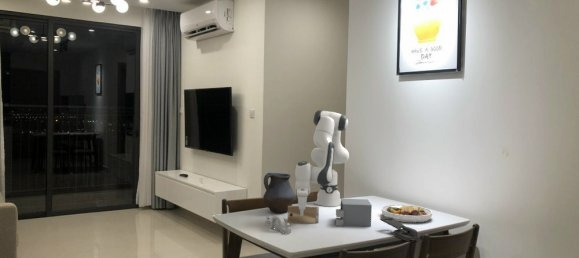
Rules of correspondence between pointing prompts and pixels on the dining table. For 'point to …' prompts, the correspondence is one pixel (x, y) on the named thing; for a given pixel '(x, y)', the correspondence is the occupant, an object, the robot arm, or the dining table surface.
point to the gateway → (282, 226)
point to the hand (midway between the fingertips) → (301, 214)
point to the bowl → (407, 213)
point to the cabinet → (354, 212)
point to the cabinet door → (308, 216)
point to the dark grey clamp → (402, 230)
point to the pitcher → (278, 192)
